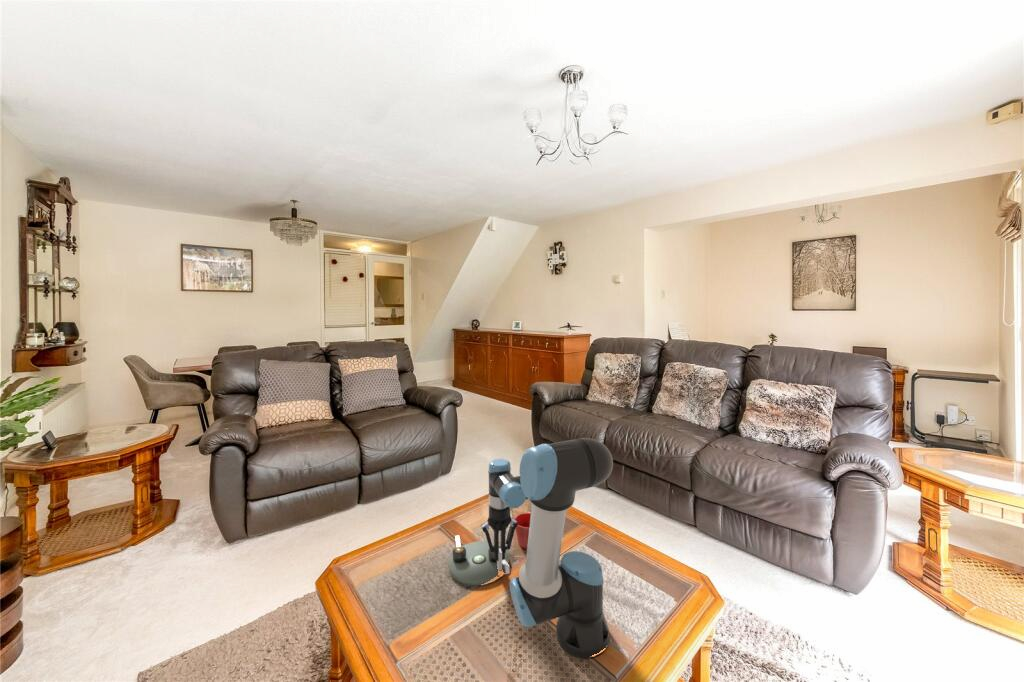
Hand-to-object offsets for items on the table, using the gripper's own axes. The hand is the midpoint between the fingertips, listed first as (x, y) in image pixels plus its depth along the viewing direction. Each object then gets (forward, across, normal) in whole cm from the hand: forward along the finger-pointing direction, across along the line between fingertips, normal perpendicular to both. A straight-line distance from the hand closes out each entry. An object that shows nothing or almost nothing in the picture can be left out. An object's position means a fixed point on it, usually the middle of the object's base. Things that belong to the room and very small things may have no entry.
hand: (499, 568), depth 137 cm
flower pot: (+3, -15, -16) cm, 22 cm away
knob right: (+1, -1, -4) cm, 4 cm away
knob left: (+1, +13, -14) cm, 19 cm away
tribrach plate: (+3, +6, -8) cm, 11 cm away
